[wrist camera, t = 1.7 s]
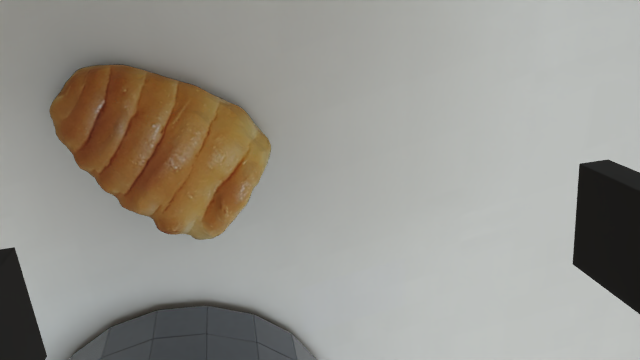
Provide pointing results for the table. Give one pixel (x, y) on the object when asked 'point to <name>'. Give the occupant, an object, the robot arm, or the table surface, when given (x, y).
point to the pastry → (162, 146)
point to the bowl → (195, 338)
